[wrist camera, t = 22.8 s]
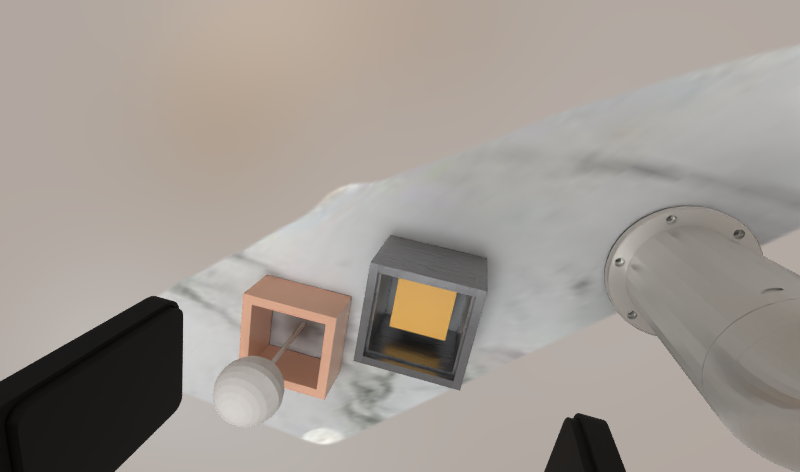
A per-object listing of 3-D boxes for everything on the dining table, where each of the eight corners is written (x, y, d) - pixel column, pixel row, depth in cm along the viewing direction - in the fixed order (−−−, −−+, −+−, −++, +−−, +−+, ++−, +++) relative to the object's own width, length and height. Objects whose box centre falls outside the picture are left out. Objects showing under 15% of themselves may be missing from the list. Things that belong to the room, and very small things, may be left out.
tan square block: (460, 274, 42) (457, 289, 39) (448, 321, 44) (444, 340, 41) (406, 261, 43) (399, 275, 40) (396, 308, 45) (389, 326, 41)
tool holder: (351, 296, 46) (336, 318, 41) (339, 371, 49) (324, 399, 45) (267, 274, 47) (243, 293, 43) (260, 349, 50) (238, 374, 46)
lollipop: (293, 352, 50) (219, 449, 36) (270, 309, 49) (184, 392, 34) (338, 337, 48) (278, 434, 34) (315, 293, 47) (244, 374, 33)
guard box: (486, 258, 42) (487, 291, 34) (464, 342, 45) (459, 390, 38) (390, 235, 43) (370, 262, 36) (374, 319, 46) (353, 360, 39)
